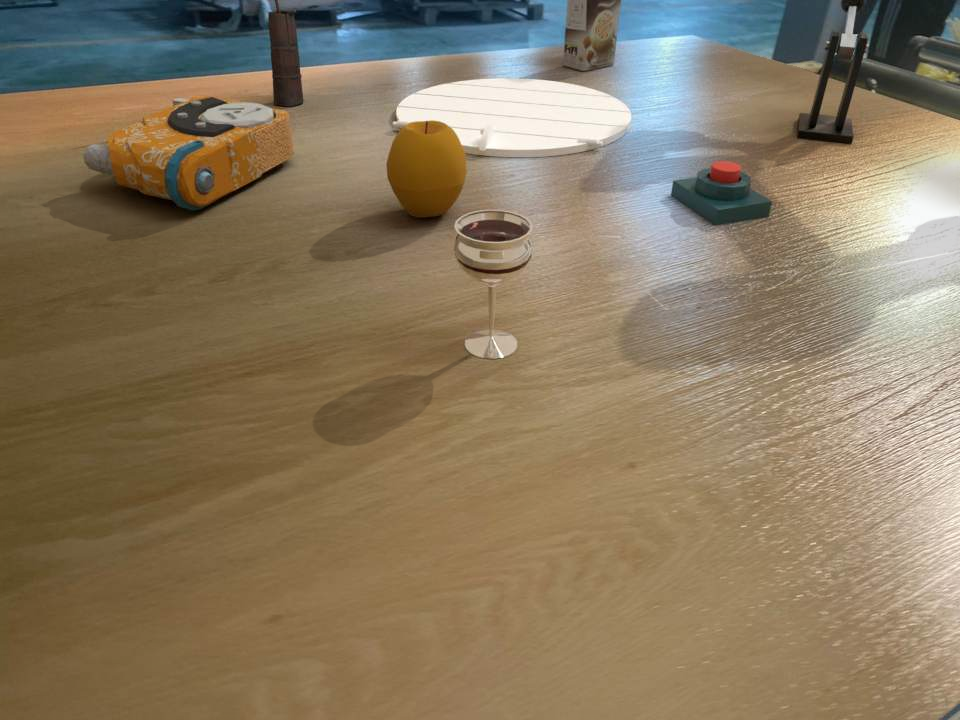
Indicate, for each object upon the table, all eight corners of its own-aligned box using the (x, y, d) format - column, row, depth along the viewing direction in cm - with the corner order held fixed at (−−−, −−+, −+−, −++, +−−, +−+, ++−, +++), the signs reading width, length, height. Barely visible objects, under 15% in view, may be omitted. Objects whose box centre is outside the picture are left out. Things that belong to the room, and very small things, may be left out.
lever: (839, 2, 122) (845, -18, 119) (863, 3, 121) (870, -16, 118) (829, 61, 117) (835, 42, 114) (854, 63, 116) (861, 44, 113)
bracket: (797, 119, 128) (821, 25, 120) (848, 125, 126) (876, 29, 118) (797, 138, 120) (821, 38, 112) (851, 144, 118) (880, 43, 110)
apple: (425, 238, 90) (421, 140, 83) (372, 214, 95) (365, 120, 88) (482, 214, 95) (483, 120, 89) (429, 192, 101) (427, 103, 94)
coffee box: (584, 72, 152) (591, -17, 143) (561, 65, 156) (567, -21, 147) (615, 65, 157) (624, -21, 148) (592, 59, 161) (600, -25, 152)
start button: (744, 182, 95) (747, 169, 94) (720, 186, 94) (722, 172, 93) (727, 172, 98) (729, 159, 97) (703, 176, 97) (705, 162, 96)
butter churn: (333, 100, 135) (315, -82, 119) (294, 114, 128) (270, -77, 112) (296, 92, 139) (273, -85, 123) (256, 104, 132) (227, -81, 116)
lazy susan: (614, 171, 108) (617, 147, 106) (357, 144, 116) (355, 122, 114) (640, 94, 140) (643, 74, 138) (437, 77, 148) (437, 59, 146)
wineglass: (493, 316, 75) (496, 203, 68) (542, 345, 71) (550, 227, 64) (440, 341, 72) (437, 223, 65) (488, 373, 67) (490, 251, 61)
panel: (768, 217, 95) (776, 187, 93) (714, 226, 93) (720, 195, 91) (721, 188, 103) (727, 159, 101) (670, 196, 101) (675, 167, 98)
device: (39, 130, 95) (204, 73, 118) (59, 193, 100) (214, 127, 122) (179, 158, 87) (327, 92, 110) (194, 224, 92) (333, 148, 115)
